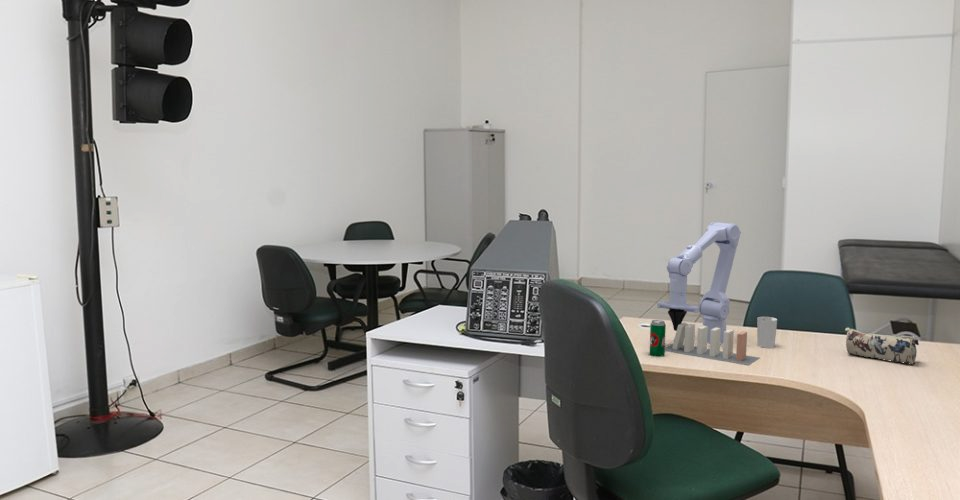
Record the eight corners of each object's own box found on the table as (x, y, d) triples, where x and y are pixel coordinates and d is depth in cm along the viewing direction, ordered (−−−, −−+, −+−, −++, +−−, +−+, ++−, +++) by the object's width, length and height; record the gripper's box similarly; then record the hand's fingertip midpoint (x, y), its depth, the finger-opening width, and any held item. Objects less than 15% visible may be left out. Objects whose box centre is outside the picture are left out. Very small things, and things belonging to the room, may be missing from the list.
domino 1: (672, 348, 255) (678, 324, 253) (677, 345, 259) (684, 322, 257) (676, 350, 254) (682, 326, 252) (682, 347, 258) (688, 323, 256)
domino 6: (736, 360, 242) (737, 333, 240) (741, 357, 245) (742, 331, 244) (740, 361, 241) (742, 334, 239) (745, 358, 244) (747, 331, 243)
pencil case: (918, 362, 242) (920, 333, 240) (912, 367, 235) (914, 338, 234) (847, 350, 256) (849, 323, 255) (840, 355, 250) (841, 327, 249)
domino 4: (709, 355, 247) (710, 329, 246) (714, 352, 251) (716, 327, 250) (714, 356, 246) (715, 330, 245) (719, 353, 250) (720, 328, 249)
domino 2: (684, 351, 253) (685, 326, 252) (689, 348, 257) (690, 323, 255) (688, 352, 252) (689, 326, 251) (694, 349, 256) (695, 324, 254)
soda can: (664, 358, 246) (666, 323, 244) (649, 357, 247) (650, 322, 245) (664, 354, 251) (665, 320, 249) (649, 353, 252) (650, 319, 250)
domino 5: (722, 358, 244) (723, 331, 243) (727, 355, 248) (729, 329, 247) (727, 358, 243) (728, 332, 242) (732, 355, 247) (733, 329, 246)
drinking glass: (755, 347, 260) (757, 319, 259) (756, 342, 267) (757, 316, 265) (775, 349, 258) (777, 321, 257) (775, 344, 264) (777, 317, 263)
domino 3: (696, 353, 250) (697, 328, 249) (702, 350, 254) (703, 325, 253) (701, 354, 249) (702, 328, 248) (706, 351, 253) (707, 326, 252)
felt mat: (673, 344, 264) (673, 343, 264) (760, 358, 245) (760, 357, 245) (659, 351, 255) (659, 350, 255) (748, 366, 236) (748, 365, 236)
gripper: (653, 291, 256) (652, 329, 258) (693, 296, 247) (692, 335, 249) (662, 288, 261) (661, 325, 263) (701, 293, 252) (700, 331, 254)
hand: (676, 330), depth 256 cm, fingers closed
